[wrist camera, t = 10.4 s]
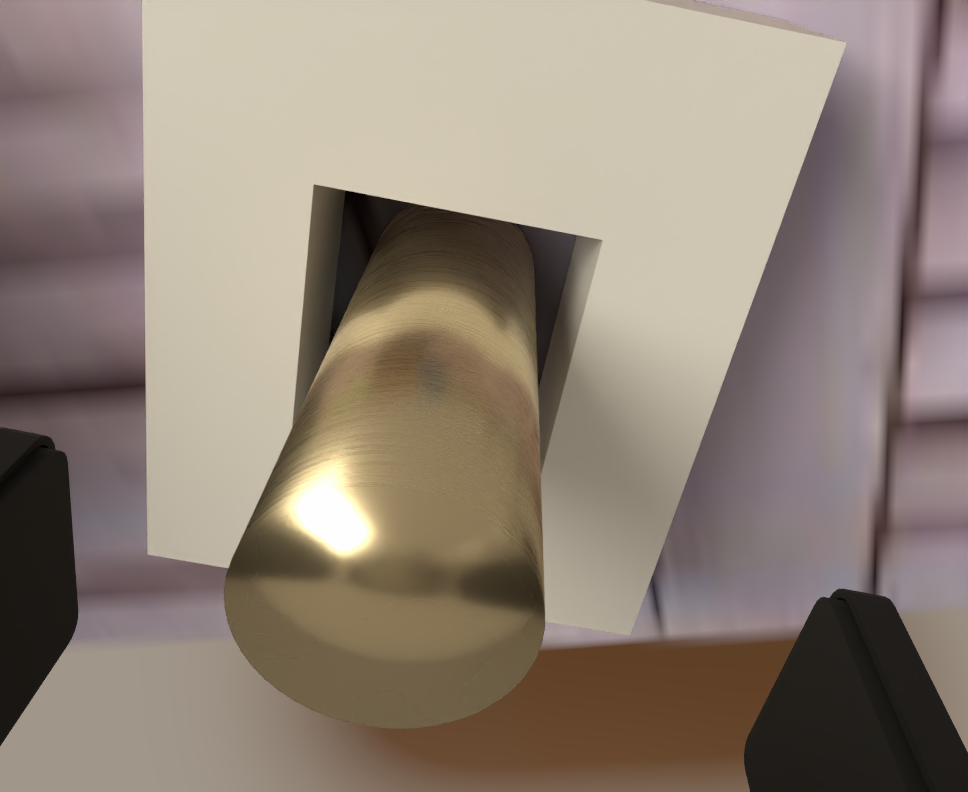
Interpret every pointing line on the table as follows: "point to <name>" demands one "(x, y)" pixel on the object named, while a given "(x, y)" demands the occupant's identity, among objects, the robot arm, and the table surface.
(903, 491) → the table surface
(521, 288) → the gold cylindrical peg
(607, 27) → the white square socket block
